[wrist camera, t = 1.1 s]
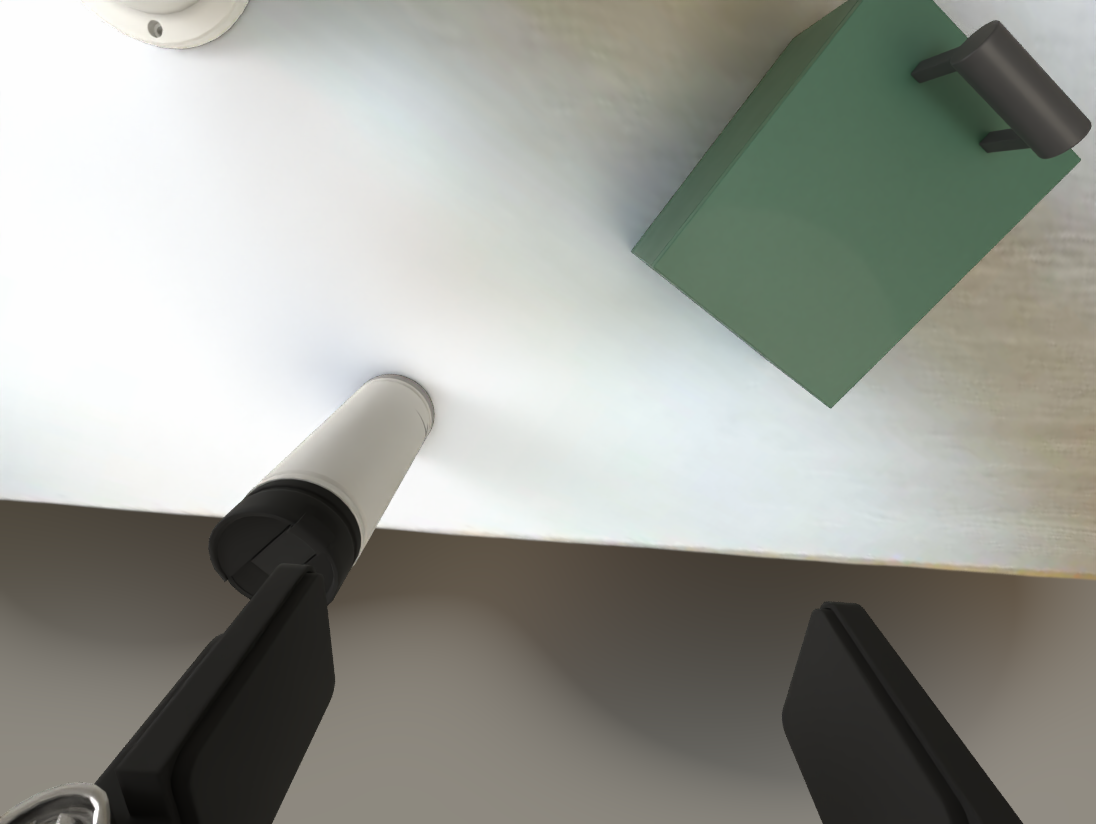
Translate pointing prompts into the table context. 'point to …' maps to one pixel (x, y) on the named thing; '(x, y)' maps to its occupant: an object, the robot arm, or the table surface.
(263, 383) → the table surface
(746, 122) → the chest
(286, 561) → the travel mug
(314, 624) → the robot arm
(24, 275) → the table surface
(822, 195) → the lid
